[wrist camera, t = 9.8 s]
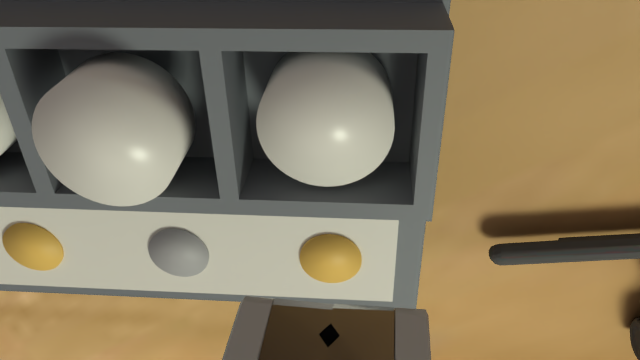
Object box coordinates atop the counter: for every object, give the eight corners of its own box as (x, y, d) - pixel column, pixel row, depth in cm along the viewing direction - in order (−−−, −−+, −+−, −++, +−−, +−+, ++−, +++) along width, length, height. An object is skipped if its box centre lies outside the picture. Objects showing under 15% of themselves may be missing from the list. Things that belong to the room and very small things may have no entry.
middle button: (185, 52, 15) (162, 80, 14) (203, 171, 18) (186, 208, 16) (49, 51, 16) (11, 78, 14) (84, 169, 18) (55, 204, 16)
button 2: (396, 38, 16) (398, 63, 14) (389, 155, 18) (390, 188, 17) (262, 37, 16) (250, 62, 15) (271, 152, 19) (261, 184, 17)
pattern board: (444, -71, 17) (470, -33, 13) (411, 260, 25) (420, 359, 20) (-115, -68, 19) (-272, -33, 14) (16, 245, 26) (-58, 334, 22)
